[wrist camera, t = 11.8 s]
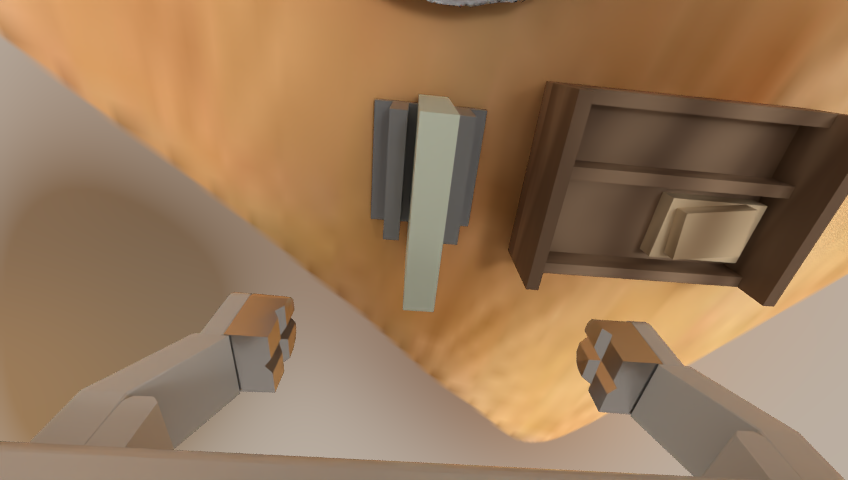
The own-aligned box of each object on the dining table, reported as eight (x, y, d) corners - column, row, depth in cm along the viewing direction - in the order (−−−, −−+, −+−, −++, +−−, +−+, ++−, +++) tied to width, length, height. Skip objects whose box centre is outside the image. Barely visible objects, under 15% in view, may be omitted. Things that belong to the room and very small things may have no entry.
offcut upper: (745, 204, 24) (757, 210, 23) (728, 249, 26) (739, 256, 25) (677, 207, 24) (687, 213, 23) (664, 252, 26) (672, 259, 25)
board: (429, 252, 28) (433, 311, 21) (405, 250, 27) (402, 309, 21) (448, 97, 23) (460, 115, 16) (418, 94, 22) (419, 111, 16)
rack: (802, 107, 24) (895, 122, 19) (717, 265, 29) (773, 306, 25) (546, 81, 23) (579, 89, 18) (508, 250, 28) (525, 289, 24)
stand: (485, 109, 24) (496, 118, 20) (467, 222, 27) (473, 245, 24) (375, 98, 23) (369, 106, 20) (371, 215, 27) (365, 237, 24)
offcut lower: (753, 199, 25) (767, 206, 24) (723, 254, 27) (735, 263, 26) (663, 191, 25) (673, 198, 24) (639, 248, 27) (648, 256, 26)
